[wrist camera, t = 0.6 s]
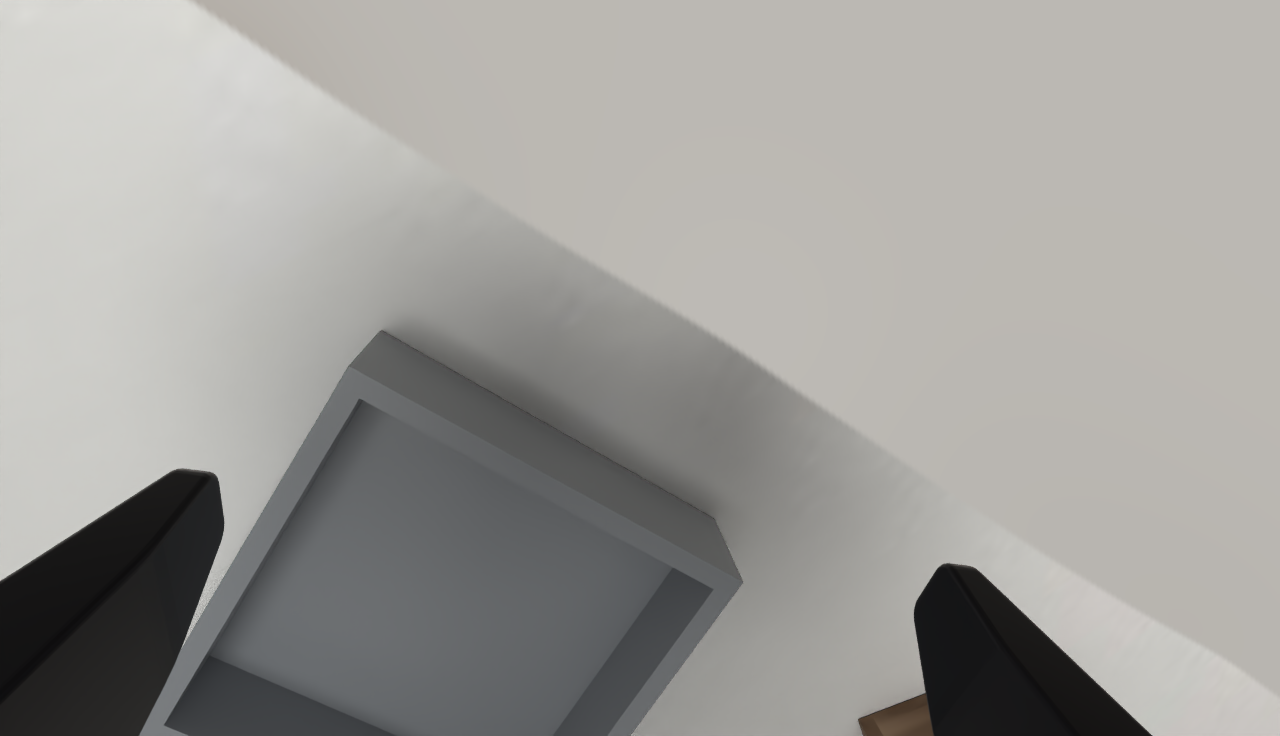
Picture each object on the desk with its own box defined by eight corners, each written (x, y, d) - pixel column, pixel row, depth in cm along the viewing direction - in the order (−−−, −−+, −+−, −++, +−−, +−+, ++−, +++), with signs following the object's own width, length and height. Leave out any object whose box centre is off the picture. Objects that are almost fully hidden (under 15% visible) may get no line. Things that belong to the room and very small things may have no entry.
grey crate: (523, 786, 32) (519, 886, 28) (193, 645, 29) (131, 733, 24) (714, 519, 30) (743, 582, 25) (380, 330, 26) (348, 366, 22)
